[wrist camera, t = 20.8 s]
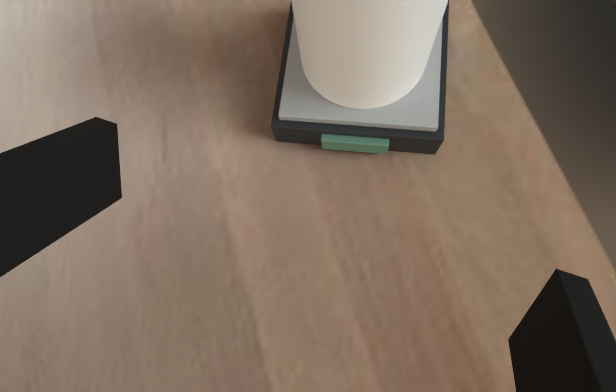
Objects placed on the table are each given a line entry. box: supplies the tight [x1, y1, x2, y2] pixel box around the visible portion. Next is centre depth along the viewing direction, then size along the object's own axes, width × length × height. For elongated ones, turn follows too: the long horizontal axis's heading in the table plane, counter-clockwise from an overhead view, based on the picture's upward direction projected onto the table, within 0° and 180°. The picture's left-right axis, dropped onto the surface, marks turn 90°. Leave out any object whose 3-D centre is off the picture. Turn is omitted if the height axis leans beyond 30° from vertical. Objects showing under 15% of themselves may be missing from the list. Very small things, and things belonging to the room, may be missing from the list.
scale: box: [271, 0, 449, 154], centre depth 28 cm, size 11×12×3 cm
